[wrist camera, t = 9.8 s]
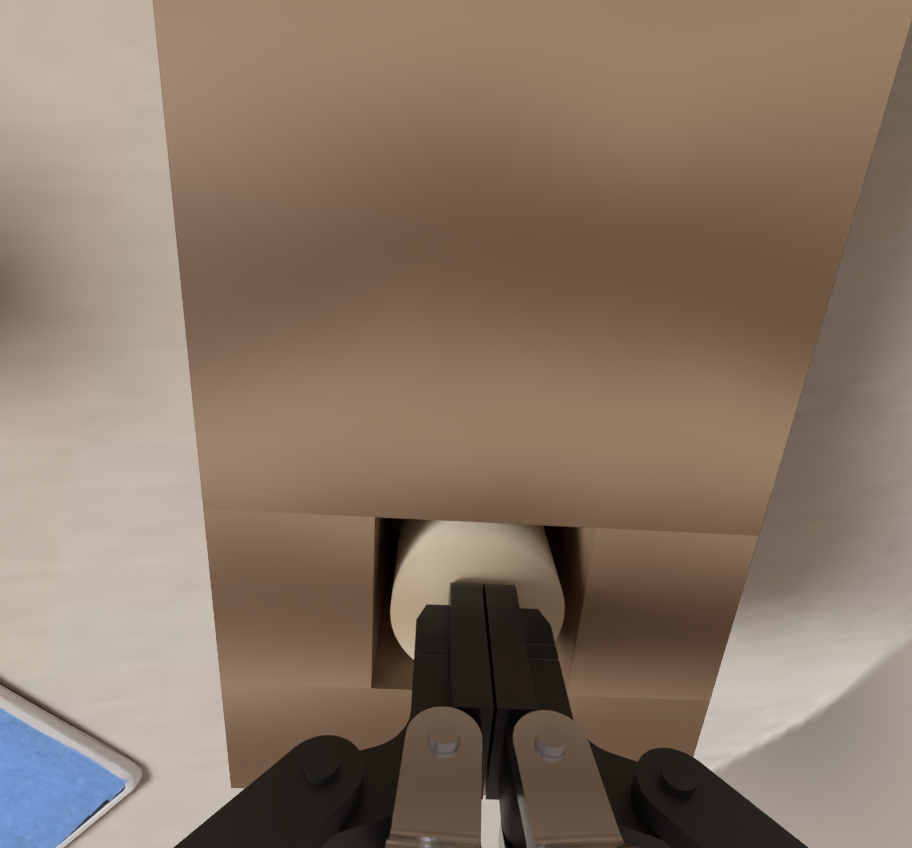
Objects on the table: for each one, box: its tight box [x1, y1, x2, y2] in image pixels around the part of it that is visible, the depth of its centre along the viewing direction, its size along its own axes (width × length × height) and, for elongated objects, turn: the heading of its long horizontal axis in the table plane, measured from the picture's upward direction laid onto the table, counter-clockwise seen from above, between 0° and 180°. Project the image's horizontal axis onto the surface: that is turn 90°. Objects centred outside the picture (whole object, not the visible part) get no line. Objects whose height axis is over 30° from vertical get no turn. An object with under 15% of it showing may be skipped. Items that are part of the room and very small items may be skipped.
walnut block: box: [153, 0, 912, 795], centre depth 15 cm, size 28×12×8 cm, turn 176°
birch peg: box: [390, 518, 565, 660], centre depth 17 cm, size 4×4×7 cm
